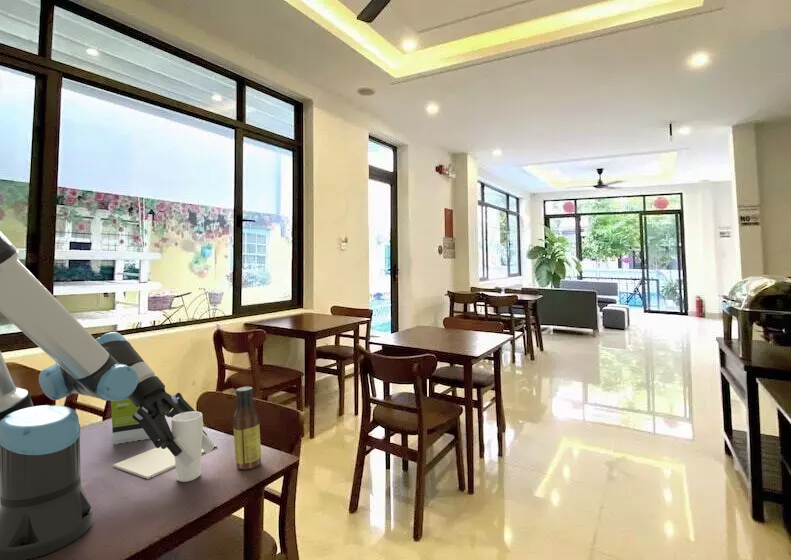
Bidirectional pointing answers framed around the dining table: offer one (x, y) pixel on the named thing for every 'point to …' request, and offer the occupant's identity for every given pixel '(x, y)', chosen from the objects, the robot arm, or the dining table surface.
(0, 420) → the robot arm
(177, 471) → the white cup
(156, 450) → the placemat
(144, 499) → the dining table surface
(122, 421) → the tea box
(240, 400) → the sauce bottle
